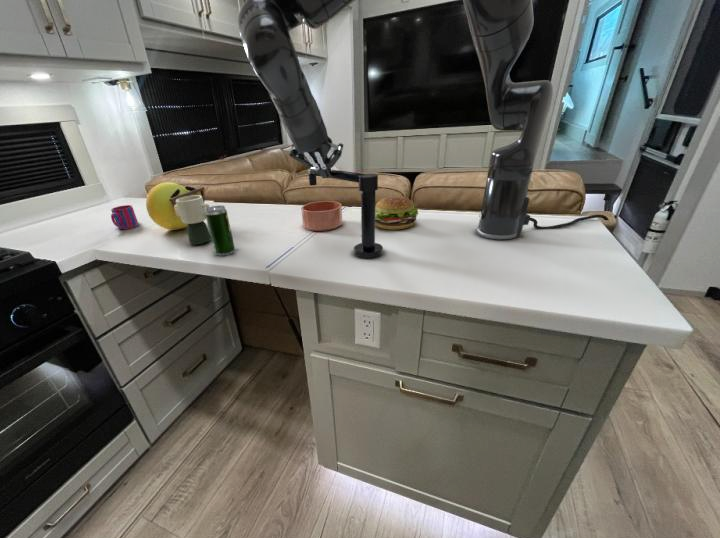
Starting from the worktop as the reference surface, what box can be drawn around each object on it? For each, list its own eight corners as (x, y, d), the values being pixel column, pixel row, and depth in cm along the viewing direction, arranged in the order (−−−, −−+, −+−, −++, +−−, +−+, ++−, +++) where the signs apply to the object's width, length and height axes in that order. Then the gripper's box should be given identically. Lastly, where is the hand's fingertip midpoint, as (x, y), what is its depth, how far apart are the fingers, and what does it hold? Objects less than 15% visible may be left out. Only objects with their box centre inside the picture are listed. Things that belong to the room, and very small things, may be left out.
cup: (142, 223, 121) (136, 204, 117) (124, 232, 112) (116, 212, 109) (126, 223, 122) (119, 205, 119) (107, 232, 114) (99, 213, 110)
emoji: (182, 238, 102) (167, 188, 95) (143, 235, 108) (126, 188, 100) (212, 222, 115) (201, 177, 107) (177, 220, 120) (164, 177, 113)
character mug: (223, 238, 99) (212, 194, 93) (212, 246, 93) (200, 200, 87) (190, 238, 102) (178, 195, 95) (178, 247, 96) (164, 201, 89)
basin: (342, 218, 108) (341, 199, 105) (342, 230, 97) (342, 210, 94) (305, 220, 108) (303, 202, 105) (301, 233, 98) (299, 213, 95)
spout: (381, 194, 74) (381, 173, 71) (368, 198, 72) (368, 177, 69) (317, 182, 91) (315, 165, 88) (304, 185, 89) (302, 168, 86)
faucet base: (380, 247, 84) (382, 186, 76) (384, 258, 78) (386, 193, 70) (353, 248, 85) (351, 188, 77) (354, 259, 79) (353, 195, 71)
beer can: (219, 257, 86) (207, 212, 80) (212, 252, 90) (201, 208, 84) (238, 252, 88) (228, 207, 82) (231, 247, 92) (221, 204, 86)
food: (368, 218, 106) (368, 192, 102) (413, 216, 103) (415, 190, 99) (368, 232, 94) (368, 204, 90) (419, 231, 92) (421, 202, 88)
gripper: (268, 137, 66) (298, 187, 82) (329, 135, 62) (349, 189, 77) (277, 106, 68) (305, 162, 84) (338, 102, 63) (355, 161, 79)
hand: (326, 175), depth 81 cm, fingers closed
